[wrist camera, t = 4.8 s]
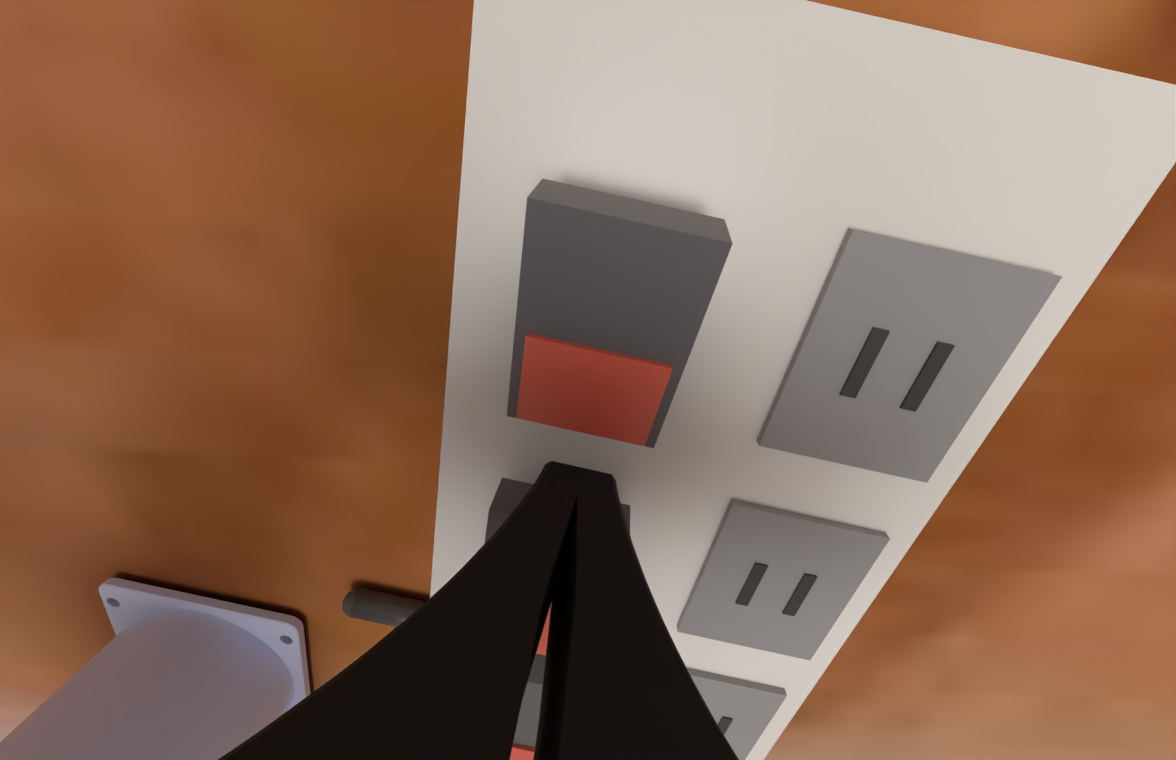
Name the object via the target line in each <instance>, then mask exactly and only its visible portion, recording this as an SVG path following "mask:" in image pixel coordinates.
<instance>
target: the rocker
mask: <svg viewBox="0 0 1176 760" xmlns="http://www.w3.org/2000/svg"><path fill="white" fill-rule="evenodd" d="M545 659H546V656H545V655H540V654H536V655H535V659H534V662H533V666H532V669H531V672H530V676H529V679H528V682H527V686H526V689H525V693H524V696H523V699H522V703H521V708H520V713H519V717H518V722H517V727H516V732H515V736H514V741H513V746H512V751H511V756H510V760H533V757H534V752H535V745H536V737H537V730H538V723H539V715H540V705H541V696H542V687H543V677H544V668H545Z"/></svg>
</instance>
